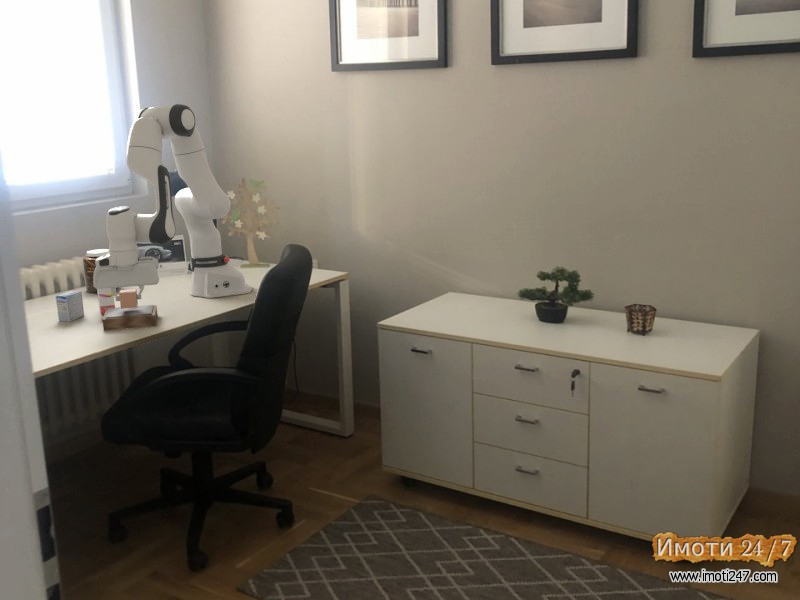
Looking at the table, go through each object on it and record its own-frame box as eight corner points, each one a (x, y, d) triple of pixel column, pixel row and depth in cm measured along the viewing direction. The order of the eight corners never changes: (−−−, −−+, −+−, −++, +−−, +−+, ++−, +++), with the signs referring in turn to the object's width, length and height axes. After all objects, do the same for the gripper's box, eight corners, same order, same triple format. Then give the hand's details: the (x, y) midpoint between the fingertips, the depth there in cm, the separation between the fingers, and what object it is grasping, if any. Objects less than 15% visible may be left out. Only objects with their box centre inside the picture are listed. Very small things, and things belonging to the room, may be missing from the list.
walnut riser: (157, 315, 284) (156, 303, 283) (155, 326, 271) (154, 314, 270) (107, 319, 281) (106, 307, 280) (103, 330, 267) (102, 318, 266)
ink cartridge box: (116, 313, 289) (111, 271, 285) (101, 315, 287) (96, 272, 283) (114, 307, 296) (109, 266, 293) (99, 309, 295) (94, 268, 291)
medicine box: (73, 315, 288) (70, 290, 286) (84, 315, 287) (81, 290, 285) (58, 321, 281) (55, 295, 278) (69, 321, 279) (66, 296, 277)
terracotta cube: (137, 303, 277) (136, 288, 276) (137, 307, 273) (135, 292, 271) (122, 305, 276) (120, 290, 275) (120, 308, 272) (119, 293, 270)
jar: (109, 293, 319) (104, 254, 315) (80, 292, 321) (75, 253, 317) (124, 286, 330) (119, 248, 327) (96, 285, 332) (92, 248, 329)
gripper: (158, 253, 276) (162, 295, 279) (92, 258, 271) (97, 300, 275) (157, 257, 270) (161, 299, 273) (90, 262, 265) (95, 304, 269)
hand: (128, 299), depth 274 cm, fingers closed on terracotta cube, 5 cm apart
